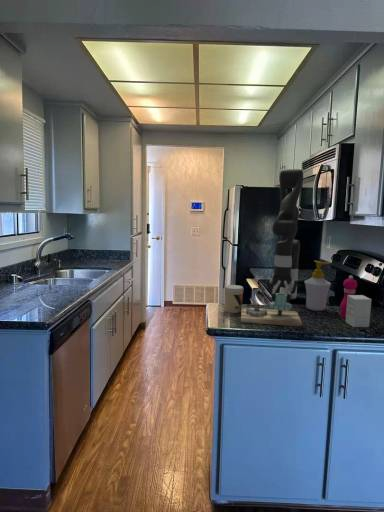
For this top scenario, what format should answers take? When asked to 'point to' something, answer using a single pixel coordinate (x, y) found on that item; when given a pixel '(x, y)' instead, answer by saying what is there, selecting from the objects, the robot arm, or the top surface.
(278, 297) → the planet gear
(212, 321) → the top surface
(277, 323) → the carrier
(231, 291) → the coffee cup
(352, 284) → the pepper mill
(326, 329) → the top surface
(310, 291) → the soap bottle
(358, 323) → the supplement box
